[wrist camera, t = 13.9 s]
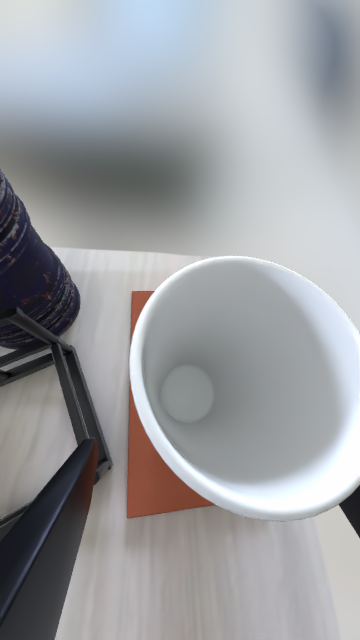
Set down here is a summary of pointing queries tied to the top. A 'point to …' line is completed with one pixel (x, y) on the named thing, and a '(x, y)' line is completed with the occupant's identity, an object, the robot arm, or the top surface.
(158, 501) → the mat
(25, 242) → the dark blue oil drum
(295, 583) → the top surface
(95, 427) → the drying rack
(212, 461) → the white tall cup
